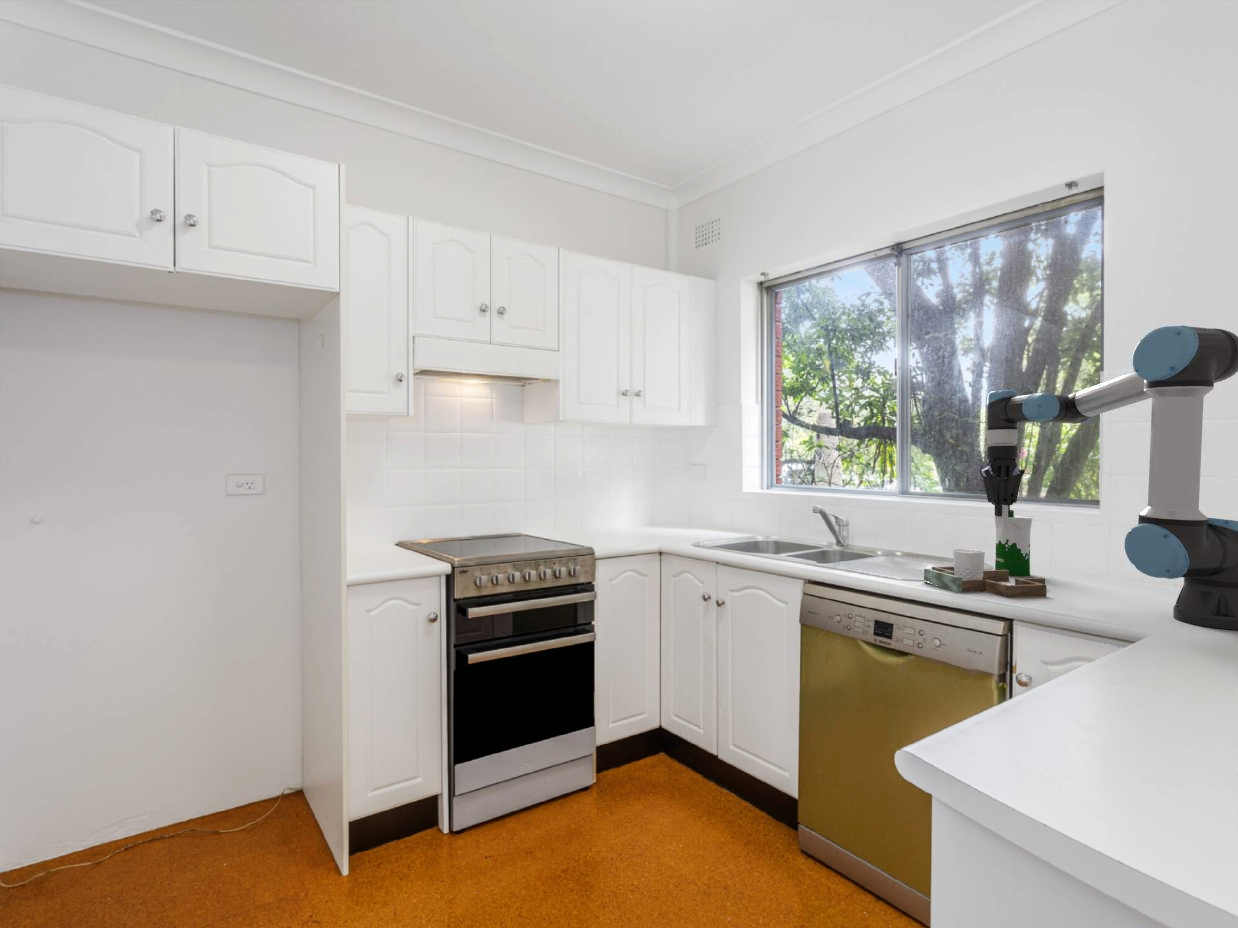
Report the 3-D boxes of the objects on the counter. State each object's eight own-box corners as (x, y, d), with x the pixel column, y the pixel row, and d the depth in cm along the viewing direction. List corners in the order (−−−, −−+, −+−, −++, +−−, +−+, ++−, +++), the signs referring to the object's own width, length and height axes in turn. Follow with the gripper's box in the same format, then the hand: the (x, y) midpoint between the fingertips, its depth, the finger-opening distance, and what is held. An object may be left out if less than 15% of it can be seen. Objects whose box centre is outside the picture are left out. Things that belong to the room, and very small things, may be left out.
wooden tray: (1070, 595, 178) (1070, 580, 178) (979, 598, 173) (979, 583, 173) (985, 574, 208) (986, 562, 208) (906, 577, 203) (907, 564, 203)
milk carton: (990, 571, 215) (991, 509, 215) (1019, 571, 215) (1019, 509, 215) (1005, 576, 207) (1006, 511, 206) (1035, 576, 206) (1036, 511, 206)
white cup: (976, 583, 194) (976, 549, 194) (989, 589, 186) (989, 553, 186) (948, 583, 194) (948, 548, 194) (959, 588, 186) (960, 552, 186)
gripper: (1011, 445, 196) (1012, 526, 196) (972, 445, 194) (972, 527, 194) (1032, 444, 189) (1032, 528, 189) (991, 444, 186) (991, 529, 186)
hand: (1002, 527), depth 191 cm, fingers closed
